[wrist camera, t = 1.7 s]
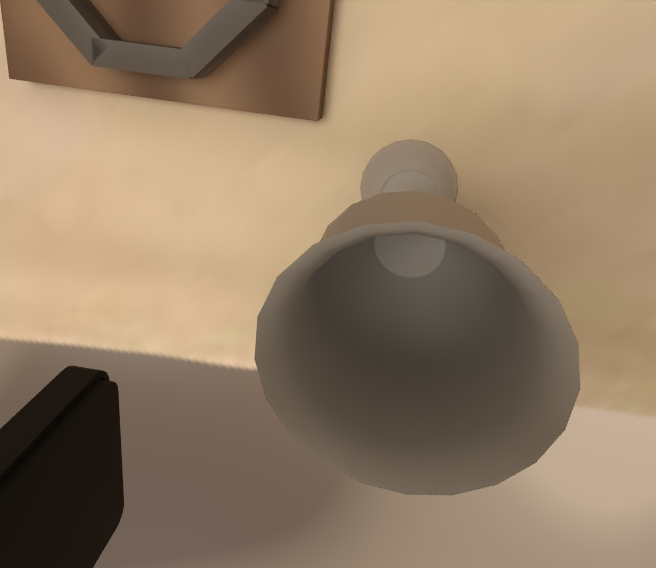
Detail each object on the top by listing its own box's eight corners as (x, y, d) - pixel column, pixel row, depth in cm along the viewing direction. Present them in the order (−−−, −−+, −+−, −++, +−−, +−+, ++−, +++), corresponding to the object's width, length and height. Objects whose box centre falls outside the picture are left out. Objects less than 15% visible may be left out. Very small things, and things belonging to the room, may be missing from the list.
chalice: (316, 197, 29) (199, 380, 13) (394, 90, 26) (375, 147, 10) (420, 275, 30) (437, 540, 14) (506, 180, 27) (657, 366, 11)
